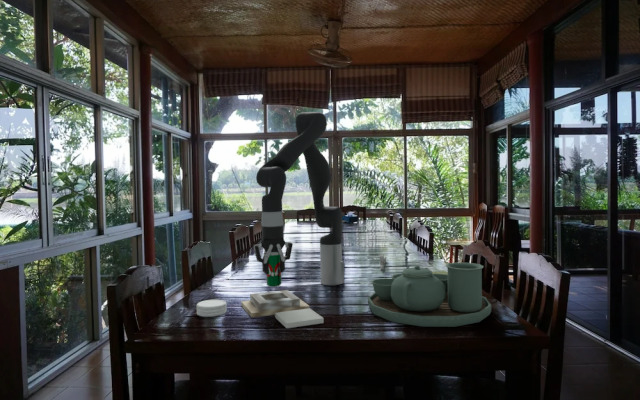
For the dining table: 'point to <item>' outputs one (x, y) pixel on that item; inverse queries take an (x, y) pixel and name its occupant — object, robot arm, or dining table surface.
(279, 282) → the soda can
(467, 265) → the tea set
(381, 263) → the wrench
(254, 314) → the socket board
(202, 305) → the white ribbed disc
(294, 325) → the tile
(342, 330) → the dining table surface
